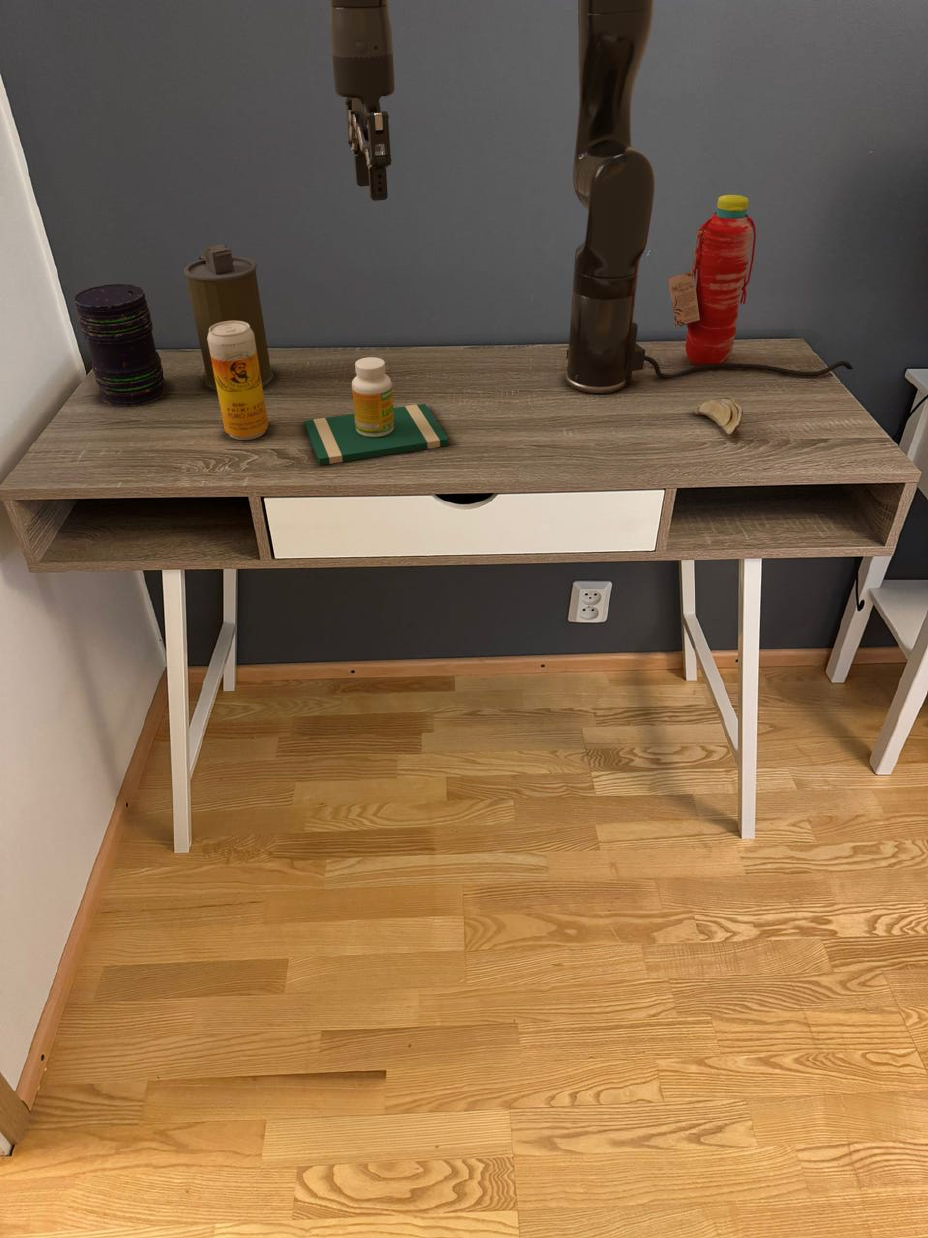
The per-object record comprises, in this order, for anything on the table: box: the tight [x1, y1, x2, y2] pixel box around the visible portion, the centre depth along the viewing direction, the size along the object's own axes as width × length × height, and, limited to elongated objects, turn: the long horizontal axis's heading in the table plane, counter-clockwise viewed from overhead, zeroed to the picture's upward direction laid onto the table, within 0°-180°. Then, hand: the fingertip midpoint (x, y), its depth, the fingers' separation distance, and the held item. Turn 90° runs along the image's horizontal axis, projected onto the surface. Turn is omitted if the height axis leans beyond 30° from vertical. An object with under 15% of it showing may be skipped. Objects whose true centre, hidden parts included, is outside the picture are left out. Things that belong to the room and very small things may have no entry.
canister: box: [183, 243, 274, 392], centre depth 134 cm, size 11×10×20 cm
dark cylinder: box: [73, 283, 167, 407], centre depth 131 cm, size 10×10×15 cm
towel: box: [303, 403, 450, 466], centre depth 124 cm, size 18×12×1 cm, turn 108°
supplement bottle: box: [351, 356, 394, 437], centre depth 120 cm, size 5×5×10 cm
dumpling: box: [694, 397, 744, 438], centre depth 125 cm, size 6×4×10 cm
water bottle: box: [668, 194, 757, 366], centre depth 136 cm, size 12×8×25 cm, turn 91°
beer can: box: [207, 321, 269, 441], centre depth 121 cm, size 6×6×15 cm
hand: (371, 192), depth 119 cm, fingers open, 8 cm apart
